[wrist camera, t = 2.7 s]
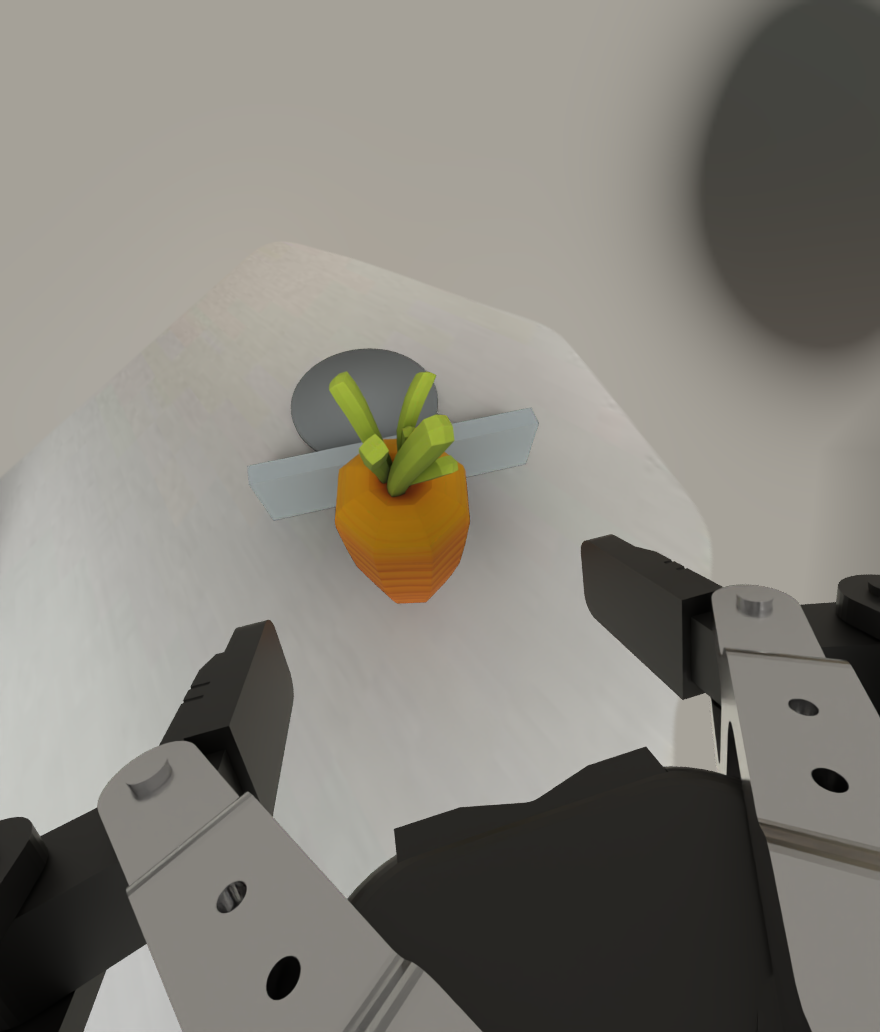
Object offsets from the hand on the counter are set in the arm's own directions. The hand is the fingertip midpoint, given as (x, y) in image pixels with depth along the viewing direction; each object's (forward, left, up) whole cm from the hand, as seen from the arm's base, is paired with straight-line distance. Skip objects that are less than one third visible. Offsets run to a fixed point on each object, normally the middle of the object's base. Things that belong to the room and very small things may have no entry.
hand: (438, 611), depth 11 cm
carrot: (0, +5, -13) cm, 13 cm away
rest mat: (0, +19, -12) cm, 23 cm away
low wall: (+1, +12, -12) cm, 17 cm away
